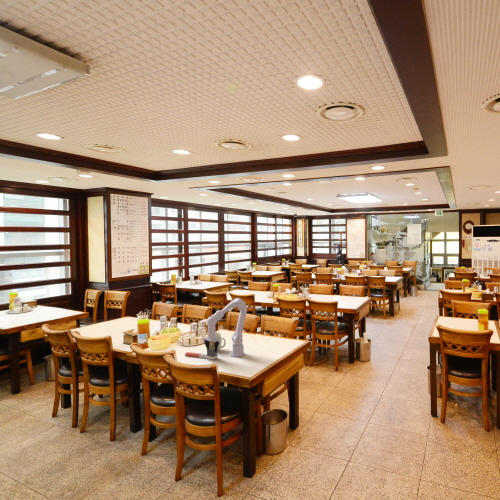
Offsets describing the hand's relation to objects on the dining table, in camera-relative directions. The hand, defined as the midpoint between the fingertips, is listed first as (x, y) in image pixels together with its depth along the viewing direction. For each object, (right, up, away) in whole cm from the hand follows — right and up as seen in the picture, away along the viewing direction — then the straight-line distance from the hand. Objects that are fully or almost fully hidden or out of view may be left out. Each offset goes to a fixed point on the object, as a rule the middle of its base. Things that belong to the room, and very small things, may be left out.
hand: (212, 350), depth 261 cm
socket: (0, -3, 0) cm, 3 cm away
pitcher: (+1, -6, +20) cm, 21 cm away
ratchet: (-9, -6, +4) cm, 11 cm away
